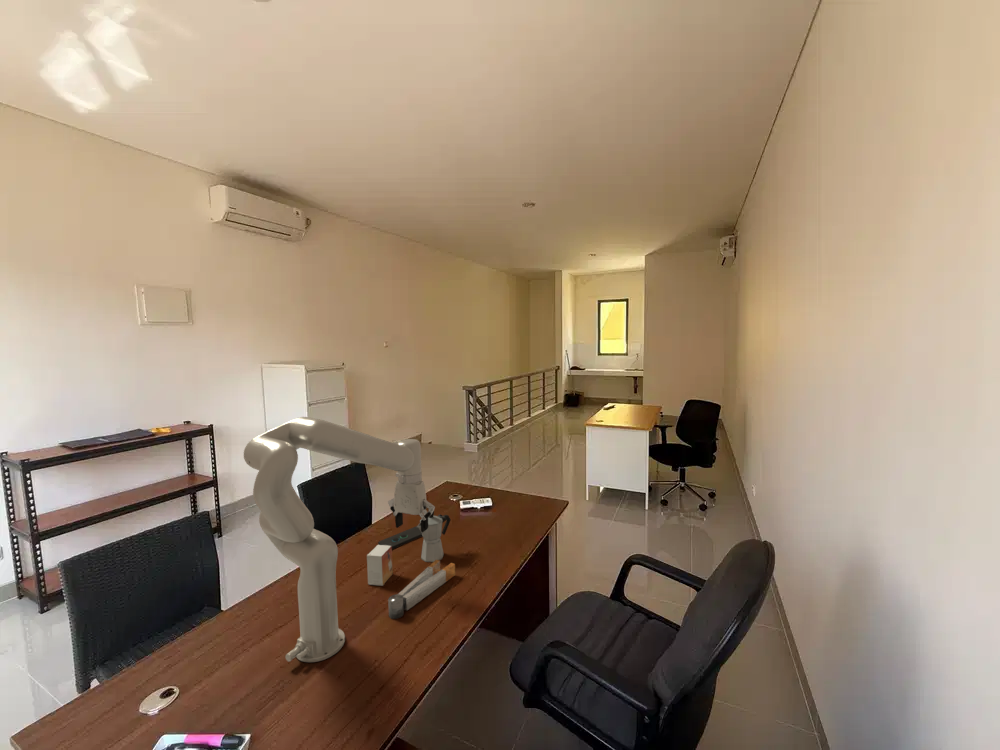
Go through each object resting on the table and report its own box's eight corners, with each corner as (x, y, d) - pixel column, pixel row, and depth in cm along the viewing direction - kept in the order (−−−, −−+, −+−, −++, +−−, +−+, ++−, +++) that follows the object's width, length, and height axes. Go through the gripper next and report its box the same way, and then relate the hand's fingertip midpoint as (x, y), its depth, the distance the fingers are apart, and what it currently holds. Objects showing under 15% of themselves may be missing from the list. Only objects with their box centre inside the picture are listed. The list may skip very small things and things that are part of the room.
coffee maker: (424, 567, 158) (422, 519, 156) (412, 558, 165) (410, 512, 163) (457, 553, 168) (456, 508, 166) (444, 545, 174) (443, 502, 173)
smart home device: (377, 541, 176) (417, 525, 191) (377, 545, 176) (417, 529, 191) (388, 547, 171) (429, 530, 185) (389, 552, 171) (429, 534, 185)
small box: (382, 586, 146) (381, 556, 145) (367, 584, 147) (366, 555, 146) (393, 573, 154) (392, 545, 153) (378, 572, 155) (377, 544, 154)
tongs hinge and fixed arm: (397, 620, 128) (397, 604, 128) (385, 617, 130) (385, 601, 129) (446, 572, 154) (445, 559, 154) (435, 570, 156) (435, 556, 155)
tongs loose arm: (406, 610, 132) (406, 598, 132) (403, 609, 133) (402, 596, 133) (455, 575, 152) (454, 563, 151) (451, 573, 153) (451, 562, 152)
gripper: (380, 478, 141) (383, 529, 142) (427, 484, 134) (428, 537, 136) (394, 471, 148) (396, 520, 149) (439, 476, 141) (440, 527, 143)
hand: (411, 528), depth 142 cm, fingers open, 9 cm apart
